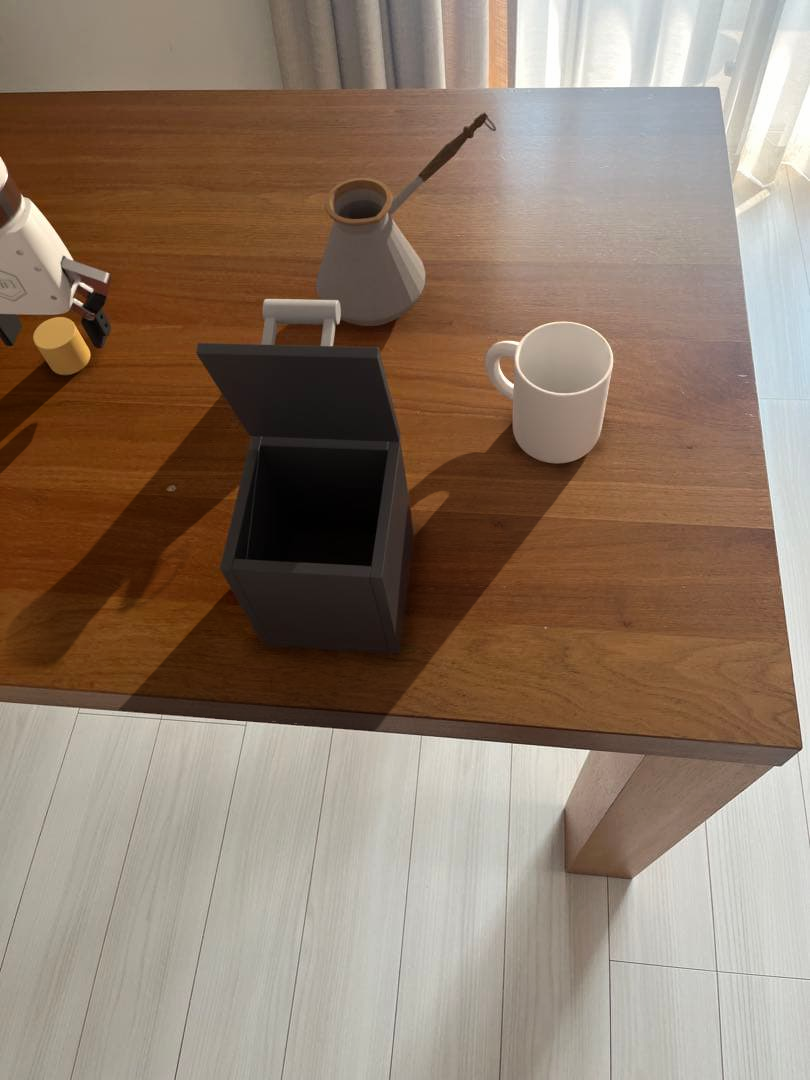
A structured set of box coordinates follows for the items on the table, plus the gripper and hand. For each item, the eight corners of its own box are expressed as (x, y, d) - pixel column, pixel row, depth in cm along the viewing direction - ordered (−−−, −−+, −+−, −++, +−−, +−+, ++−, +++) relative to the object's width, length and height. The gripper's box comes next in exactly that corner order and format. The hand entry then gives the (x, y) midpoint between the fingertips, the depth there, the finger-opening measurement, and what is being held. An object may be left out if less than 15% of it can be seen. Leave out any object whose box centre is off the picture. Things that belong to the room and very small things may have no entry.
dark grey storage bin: (399, 654, 74) (382, 578, 62) (262, 645, 75) (219, 568, 63) (414, 532, 80) (400, 441, 68) (286, 526, 81) (251, 435, 69)
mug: (462, 423, 85) (459, 350, 76) (511, 367, 88) (513, 291, 79) (570, 481, 81) (579, 411, 72) (617, 421, 84) (631, 346, 75)
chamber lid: (377, 358, 55) (385, 283, 57) (195, 353, 57) (208, 280, 58) (399, 442, 67) (405, 378, 69) (248, 436, 68) (258, 374, 70)
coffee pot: (357, 357, 90) (335, 241, 77) (300, 293, 96) (271, 175, 83) (523, 263, 95) (528, 139, 82) (460, 207, 100) (456, 82, 87)
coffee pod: (52, 380, 92) (35, 354, 89) (47, 350, 95) (30, 324, 91) (93, 367, 93) (78, 341, 89) (87, 338, 95) (72, 311, 92)
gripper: (-135, 230, 76) (-32, 363, 90) (55, 232, 73) (129, 367, 88) (-101, 171, 79) (-8, 308, 94) (81, 171, 77) (147, 311, 92)
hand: (58, 336), depth 91 cm, fingers open, 9 cm apart
